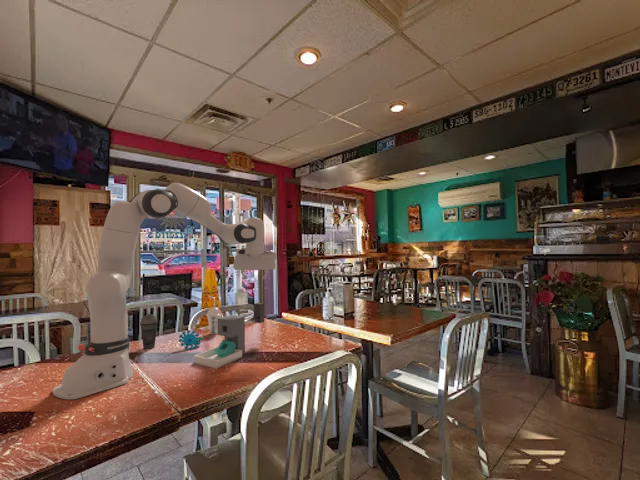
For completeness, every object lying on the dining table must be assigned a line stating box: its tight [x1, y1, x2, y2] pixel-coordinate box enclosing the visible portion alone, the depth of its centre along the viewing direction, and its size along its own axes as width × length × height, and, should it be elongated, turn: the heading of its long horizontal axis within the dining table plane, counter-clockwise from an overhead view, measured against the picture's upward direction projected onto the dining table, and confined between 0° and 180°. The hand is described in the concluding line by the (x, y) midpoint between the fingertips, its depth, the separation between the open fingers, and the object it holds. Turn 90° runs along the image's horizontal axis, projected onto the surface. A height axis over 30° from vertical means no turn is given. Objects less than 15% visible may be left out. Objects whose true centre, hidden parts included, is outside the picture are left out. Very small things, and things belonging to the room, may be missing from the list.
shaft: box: [245, 302, 265, 326], centre depth 145 cm, size 22×4×9 cm, turn 152°
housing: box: [217, 314, 246, 355], centre depth 136 cm, size 8×8×16 cm
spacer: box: [215, 339, 236, 357], centre depth 133 cm, size 3×6×6 cm
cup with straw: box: [205, 295, 224, 335], centre depth 171 cm, size 8×9×20 cm
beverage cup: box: [139, 304, 159, 350], centre depth 146 cm, size 7×7×20 cm
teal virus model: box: [178, 329, 204, 350], centre depth 147 cm, size 11×6×10 cm
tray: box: [192, 346, 243, 370], centre depth 129 cm, size 14×13×3 cm
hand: (254, 279), depth 154 cm, fingers open, 8 cm apart
